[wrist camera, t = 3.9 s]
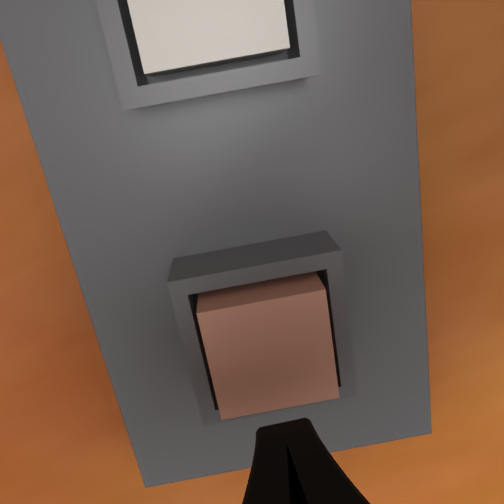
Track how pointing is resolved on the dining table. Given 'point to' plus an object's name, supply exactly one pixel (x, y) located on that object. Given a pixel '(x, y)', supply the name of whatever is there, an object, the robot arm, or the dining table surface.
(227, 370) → the terracotta key
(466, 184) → the dining table surface
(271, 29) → the white key
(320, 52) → the grey key base
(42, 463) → the dining table surface
